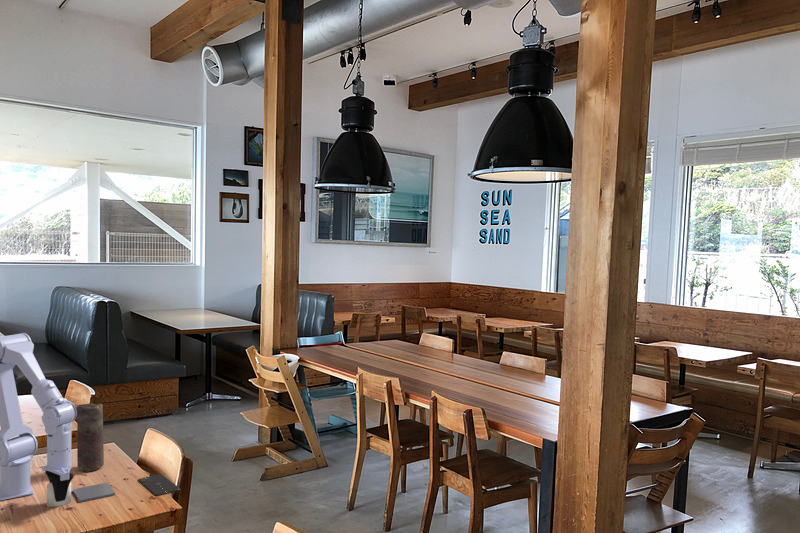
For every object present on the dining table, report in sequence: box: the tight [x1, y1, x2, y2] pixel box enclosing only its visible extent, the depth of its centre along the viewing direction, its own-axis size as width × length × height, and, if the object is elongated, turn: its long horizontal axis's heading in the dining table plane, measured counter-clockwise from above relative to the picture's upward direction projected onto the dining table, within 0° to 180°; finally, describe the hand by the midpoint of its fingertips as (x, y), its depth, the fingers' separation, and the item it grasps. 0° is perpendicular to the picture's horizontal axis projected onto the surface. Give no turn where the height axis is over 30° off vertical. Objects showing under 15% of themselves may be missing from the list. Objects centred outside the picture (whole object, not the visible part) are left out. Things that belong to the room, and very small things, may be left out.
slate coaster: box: [72, 482, 116, 503], centre depth 175 cm, size 9×9×1 cm
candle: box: [76, 403, 105, 473], centre depth 193 cm, size 8×7×20 cm
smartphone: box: [137, 473, 181, 497], centre depth 182 cm, size 7×1×15 cm
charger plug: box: [46, 481, 72, 508], centre depth 168 cm, size 3×6×7 cm, turn 128°
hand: (59, 498), depth 168 cm, fingers closed on charger plug, 3 cm apart
